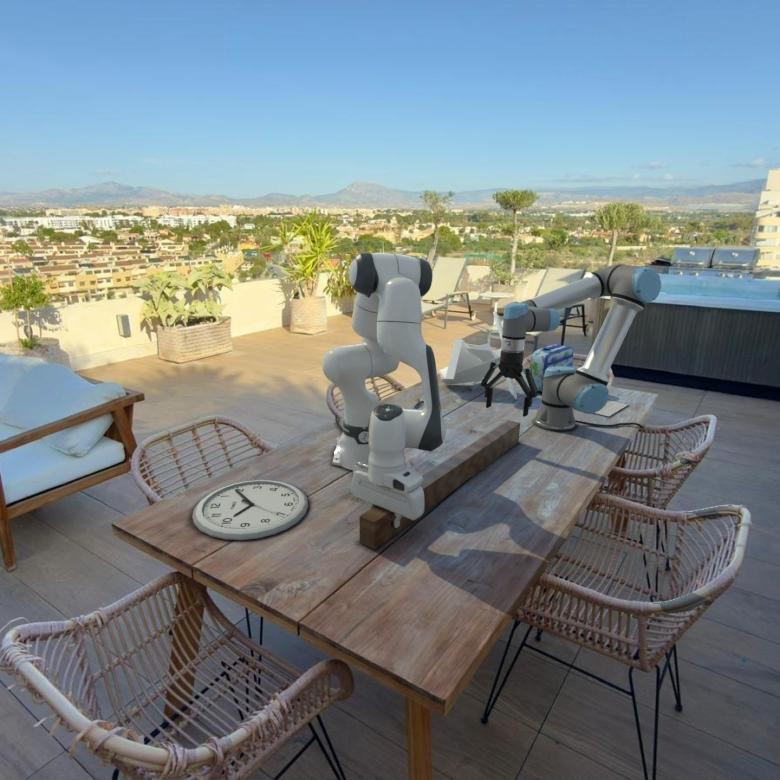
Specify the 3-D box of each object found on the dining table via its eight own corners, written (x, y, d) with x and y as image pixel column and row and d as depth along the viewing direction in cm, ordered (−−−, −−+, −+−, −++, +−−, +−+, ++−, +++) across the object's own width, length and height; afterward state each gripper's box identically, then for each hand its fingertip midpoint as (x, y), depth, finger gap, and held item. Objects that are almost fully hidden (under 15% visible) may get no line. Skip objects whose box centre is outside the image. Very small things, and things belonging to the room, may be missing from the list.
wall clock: (304, 532, 127) (176, 536, 124) (304, 538, 127) (177, 542, 125) (311, 475, 155) (207, 478, 153) (311, 480, 156) (208, 483, 153)
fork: (411, 408, 219) (411, 404, 219) (422, 397, 234) (422, 393, 233) (417, 409, 219) (417, 404, 218) (427, 398, 233) (427, 394, 232)
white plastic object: (461, 429, 252) (437, 405, 227) (444, 352, 274) (420, 323, 250) (535, 404, 240) (518, 377, 215) (510, 326, 262) (492, 293, 237)
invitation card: (608, 416, 214) (573, 407, 224) (608, 416, 214) (573, 408, 224) (628, 404, 229) (594, 396, 238) (628, 405, 229) (594, 397, 238)
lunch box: (545, 397, 238) (550, 352, 231) (524, 391, 245) (529, 348, 239) (572, 386, 255) (578, 344, 249) (552, 381, 262) (557, 340, 256)
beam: (506, 439, 190) (508, 420, 188) (518, 442, 187) (520, 422, 185) (359, 542, 126) (359, 515, 124) (374, 549, 124) (374, 522, 121)
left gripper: (345, 464, 129) (345, 513, 133) (413, 489, 117) (412, 542, 121) (361, 455, 134) (361, 503, 138) (429, 478, 122) (426, 530, 126)
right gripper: (473, 346, 177) (469, 406, 183) (544, 358, 163) (537, 422, 169) (483, 343, 182) (479, 400, 189) (553, 354, 168) (545, 416, 175)
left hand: (385, 522), depth 130 cm, fingers closed on beam, 4 cm apart
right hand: (506, 411), depth 179 cm, fingers open, 13 cm apart
